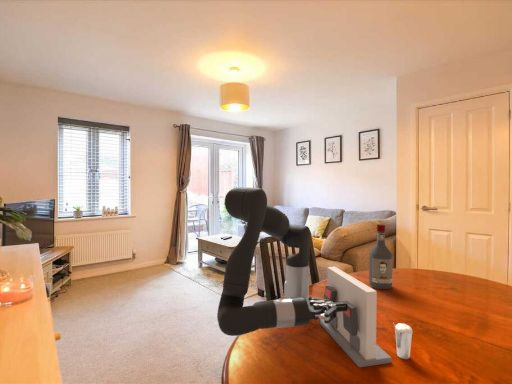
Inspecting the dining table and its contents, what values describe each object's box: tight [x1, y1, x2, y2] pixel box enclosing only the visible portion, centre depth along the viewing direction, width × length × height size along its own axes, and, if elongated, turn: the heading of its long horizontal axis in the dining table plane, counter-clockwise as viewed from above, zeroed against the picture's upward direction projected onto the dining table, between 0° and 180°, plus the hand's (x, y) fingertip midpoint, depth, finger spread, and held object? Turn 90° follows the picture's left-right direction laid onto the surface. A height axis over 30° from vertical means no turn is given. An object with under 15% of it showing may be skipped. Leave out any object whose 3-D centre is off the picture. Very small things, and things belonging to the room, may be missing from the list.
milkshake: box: [393, 322, 413, 360], centre depth 84 cm, size 4×5×10 cm
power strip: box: [319, 266, 392, 368], centre depth 92 cm, size 10×25×20 cm, turn 12°
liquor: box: [368, 223, 393, 290], centre depth 140 cm, size 9×9×30 cm
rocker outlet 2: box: [342, 301, 358, 336], centre depth 85 cm, size 2×5×8 cm, turn 12°
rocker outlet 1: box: [323, 285, 337, 303], centre depth 97 cm, size 2×5×8 cm, turn 13°
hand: (346, 306), depth 84 cm, fingers closed
